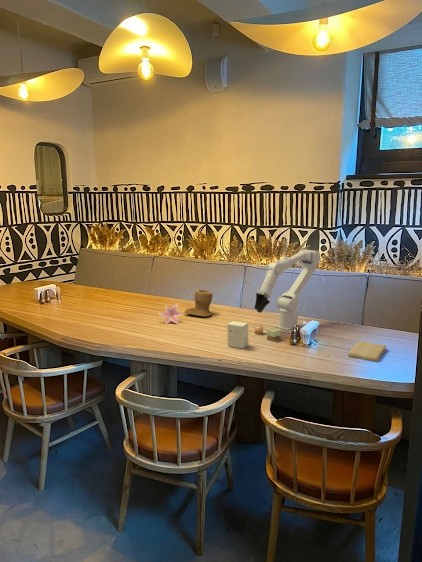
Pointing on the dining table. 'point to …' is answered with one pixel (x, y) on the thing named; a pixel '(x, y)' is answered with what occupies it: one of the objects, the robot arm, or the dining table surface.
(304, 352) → the dining table surface
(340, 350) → the dining table surface
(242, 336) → the small box
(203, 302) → the brown boot
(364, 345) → the washcloth
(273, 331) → the tower top
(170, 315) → the lily
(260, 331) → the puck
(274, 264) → the robot arm
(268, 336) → the tower base
